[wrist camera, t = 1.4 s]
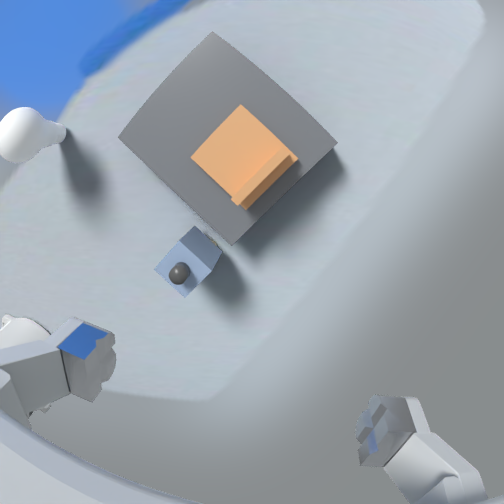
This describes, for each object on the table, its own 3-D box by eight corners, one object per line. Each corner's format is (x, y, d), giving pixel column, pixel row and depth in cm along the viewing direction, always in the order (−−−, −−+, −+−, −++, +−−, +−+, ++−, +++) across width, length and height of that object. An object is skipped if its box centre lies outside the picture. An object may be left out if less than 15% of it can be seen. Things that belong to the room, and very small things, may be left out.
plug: (201, 270, 36) (180, 305, 28) (176, 246, 35) (148, 275, 27) (224, 247, 35) (208, 277, 27) (198, 222, 34) (174, 245, 26)
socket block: (237, 234, 34) (231, 245, 30) (134, 137, 32) (117, 137, 28) (330, 143, 30) (337, 142, 26) (220, 43, 28) (212, 31, 24)
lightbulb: (88, 125, 31) (27, 124, 21) (65, 166, 33) (4, 178, 23) (61, 101, 30) (0, 96, 20) (39, 141, 32) (-20, 147, 22)
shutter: (246, 208, 29) (242, 216, 26) (192, 157, 28) (182, 158, 25) (297, 158, 27) (300, 159, 24) (241, 105, 26) (237, 99, 23)
